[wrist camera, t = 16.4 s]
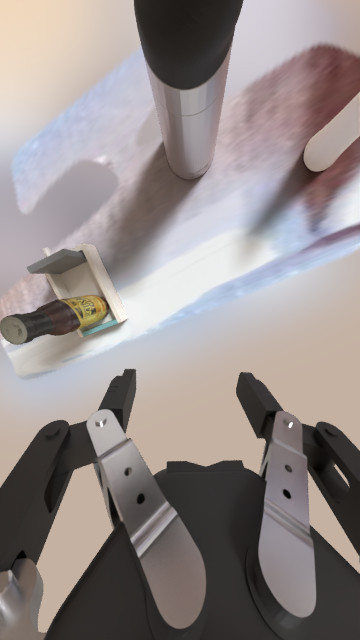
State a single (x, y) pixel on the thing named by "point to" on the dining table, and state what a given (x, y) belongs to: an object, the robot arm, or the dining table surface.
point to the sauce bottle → (54, 318)
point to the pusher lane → (89, 288)
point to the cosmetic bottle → (334, 137)
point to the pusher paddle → (57, 262)
